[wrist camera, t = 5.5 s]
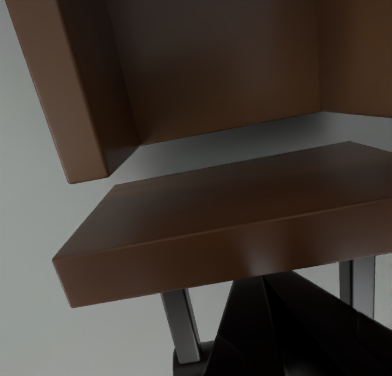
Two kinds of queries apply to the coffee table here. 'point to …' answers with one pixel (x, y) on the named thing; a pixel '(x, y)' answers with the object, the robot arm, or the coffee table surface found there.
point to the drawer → (206, 123)
